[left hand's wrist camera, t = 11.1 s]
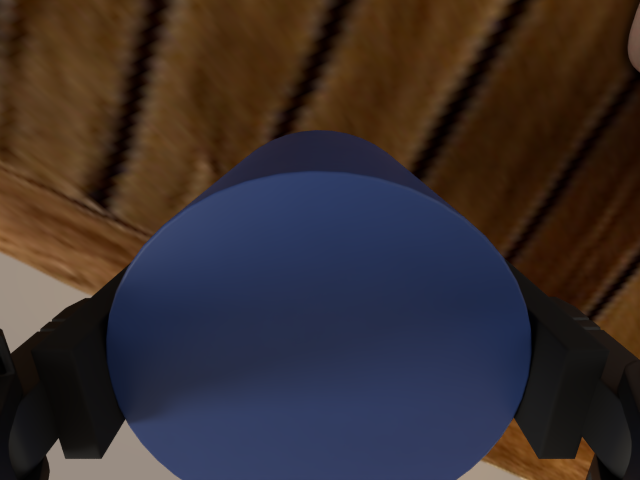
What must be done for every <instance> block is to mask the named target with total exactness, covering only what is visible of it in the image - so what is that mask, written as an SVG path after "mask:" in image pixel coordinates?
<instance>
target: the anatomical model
mask: <svg viewBox="0 0 640 480" xmlns="http://www.w3.org/2000/svg"><path fill="white" fill-rule="evenodd" d="M628 55H629V59H630V61H631V63H632V65H633V66H634V67H635V68H636V69H637V70H638V71H639V72H640V4H639V6H638V9H637V11H636V15H635V18H634V21H633V24H632V27H631V30H630V34H629V41H628Z"/></svg>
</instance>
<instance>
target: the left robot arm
mask: <svg viewBox="0 0 640 480" xmlns="http://www.w3.org/2000/svg"><path fill="white" fill-rule="evenodd" d="M504 260H505V261H506V263H507V265H508V266H509V268H510V270H511V272H512V273H513V275H514V277H515V278H516V280H517V282H518V285H519V288H520V290H521V293H522V295H523V298H524V301H525V303H526V307H527V312H528V317H529V322H530V327H531V344H532V356H531V364H530V372H529V377H528V381H527V384H526V388H525V391H524V395H523V398H522V400H521V402H520V405H519V407H518V409H517V411H516V413H515V416H514V419H515V420H516V422H517V424H518V425H519V427H520V428H521V430H522V432H523V433H524V435H525V437H526V438H527V440H528V442H529V443H530V445H531V447H532V448H533V450H534V452H535V453H536V455H537V457H538V458H539V459H575V457H576V454H577V451H578V448H579V444H580V441H581V438H582V437H583V438H584V440H585V441H586V442H587V443H588V445H589V446H590V447H591V449H592V450H593V451H594V452H595V454H594V457H593V460H592V463H591V466H590V469H589V471H588V474H587V477H586V480H640V360H639V359H638V358H637V357H635V356H634V355H633V354H632V353H631V352H629V351H628V350H627V349H626V348H624V347H623V346H622V345H621V344H620V343H618V342H617V341H616V340H615V339H614V338H612V337H611V336H610V335H609V334H607V333H606V332H605V331H604V330H600V327H599V326H598V325H597V324H595V323H594V322H593V321H592V320H589V318H588V317H587V316H586V315H584V314H583V313H582V312H581V311H580V310H578V309H577V308H576V307H575V306H573V305H571V304H569V303H567V302H565V301H563V300H561V299H559V298H557V297H548V296H547V295H546V294H545V293H543V292H542V291H541V290H540V289H539V288H538V287H537V286H535V285H534V284H533V283H532V282H531V281H530V280H529V279H527V278H526V277H525V276H524V275H523V274H522V273H521V272H519V271H518V270H517V269H516V268H515V267H514V266H513V265H511V264H510V263H509V262H508V261H507V260H506V259H505V258H504ZM130 264H131V263H130ZM130 264H129V265H130ZM129 265H128V266H127V267H125V268H124V269H123V270H122V271H121V272H120V273H119V274H117V275H116V276H115V277H114V278H113V279H112V280H111V281H109V282H108V283H107V284H106V285H105V286H104V287H103V288H101V289H100V290H99V291H98V292H97V293H96V294H95V295H93V296H92V297H91V298H85V299H83V300H81V301H79V302H77V303H75V304H73V305H71V306H69V307H67V308H65V309H64V310H63V311H62V312H60V313H59V314H58V315H57V316H56V317H54V318H53V319H52V322H48V323H47V324H46V325H45V326H44V327H42V328H41V329H40V332H36V333H35V334H34V335H33V336H32V337H30V338H29V339H28V340H27V341H26V342H24V343H23V344H22V345H21V346H19V347H18V348H17V349H16V350H15V351H13V352H12V353H11V354H10V351H9V348H8V345H7V342H6V339H5V336H4V333H3V331H2V329H0V480H48V479H49V473H50V470H49V463H48V460H47V457H46V454H47V452H48V451H49V450H50V448H51V447H52V446H53V445H54V443H55V442H56V441H57V439H58V438H59V440H60V443H61V446H62V450H63V453H64V456H65V458H66V459H101V458H102V457H103V455H104V454H105V452H106V450H107V449H108V447H109V445H110V444H111V442H112V440H113V439H114V437H115V436H116V434H117V432H118V431H119V429H120V427H121V425H122V424H123V422H124V421H125V417H124V415H123V413H122V411H121V410H120V408H119V406H118V403H117V400H116V397H115V394H114V391H113V387H112V383H111V379H110V375H109V370H108V366H107V357H106V335H107V327H108V320H109V313H110V310H111V307H112V303H113V300H114V297H115V294H116V290H117V288H118V286H119V284H120V282H121V280H122V278H123V276H124V274H125V272H126V270H127V268H128V267H129Z"/></svg>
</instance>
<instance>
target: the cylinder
mask: <svg viewBox="0 0 640 480" xmlns="http://www.w3.org/2000/svg"><path fill="white" fill-rule="evenodd" d="M531 356H532V344H531V327H530V322H529V317H528V312H527V307H526V303H525V301H524V298H523V295H522V293H521V290H520V288H519V285H518V282H517V280H516V278H515V277H514V275H513V273H512V272H511V270H510V268H509V266H508V265H507V263H506V261H505V260H504V258H503V257H502V256H501V254H500V253H499V252H498V251H497V249H496V248H495V247H494V246H493V245H492V243H491V242H490V241H489V240H488V238H487V237H486V236H485V235H484V234H482V233H481V232H480V231H479V230H478V229H477V228H476V227H475V226H474V225H472V224H471V223H470V222H469V221H468V220H467V219H466V218H465V217H463V216H462V215H461V214H460V213H459V212H457V211H456V210H455V209H454V208H453V207H451V206H450V205H449V204H448V203H447V202H445V201H444V200H443V199H442V198H441V197H439V196H438V195H437V194H436V193H435V192H433V191H432V190H431V189H430V188H429V187H427V186H426V185H425V184H424V183H423V182H421V181H420V180H419V179H418V178H417V177H415V176H414V175H413V174H412V173H411V172H409V171H408V170H407V169H406V168H405V167H403V166H402V165H401V164H400V163H399V162H397V161H396V160H395V159H394V158H393V157H391V156H390V155H389V154H388V153H386V152H385V151H383V150H382V149H380V148H379V147H377V146H376V145H374V144H372V143H370V142H368V141H366V140H364V139H362V138H359V137H356V136H353V135H350V134H346V133H341V132H335V131H321V130H314V131H304V132H298V133H294V134H289V135H285V136H283V137H280V138H278V139H275V140H273V141H270V142H269V143H267V144H265V145H263V146H261V147H260V148H258V149H257V150H255V151H254V152H253V153H251V154H250V155H249V156H247V157H246V158H245V159H244V160H242V161H241V162H240V163H239V164H238V165H236V166H235V167H234V168H233V169H231V170H230V171H229V172H228V173H227V174H225V175H224V176H223V177H222V178H220V179H219V180H218V181H217V182H216V183H214V184H213V185H212V186H211V187H209V188H208V189H207V190H206V191H205V192H203V193H202V194H201V195H200V196H198V197H197V198H196V199H195V200H194V201H192V202H191V203H190V204H189V205H187V206H186V207H185V208H184V209H183V210H181V211H180V212H179V213H178V214H176V215H175V216H174V217H173V218H172V219H170V220H169V221H168V222H167V223H165V224H164V225H163V226H162V227H161V228H160V229H159V230H158V231H157V232H156V233H155V234H154V235H153V236H152V237H151V238H150V239H149V240H148V241H147V242H146V243H145V244H144V246H143V247H142V248H141V250H140V251H139V253H138V254H137V255H136V257H135V258H134V260H133V261H132V262H131V264H130V265H129V267H128V268H127V270H126V272H125V274H124V276H123V278H122V280H121V282H120V284H119V286H118V288H117V290H116V294H115V297H114V300H113V303H112V307H111V310H110V313H109V320H108V327H107V335H106V357H107V366H108V370H109V375H110V379H111V383H112V387H113V391H114V394H115V397H116V400H117V403H118V406H119V408H120V410H121V411H122V413H123V415H124V417H125V419H126V421H127V423H128V425H129V426H130V428H131V429H132V430H133V432H134V433H135V434H136V436H137V437H138V439H139V440H140V442H141V443H142V444H143V445H144V446H145V447H146V448H147V450H148V451H149V452H150V453H151V454H152V455H153V456H154V457H155V458H156V459H157V460H158V461H159V462H160V463H161V464H162V465H164V466H165V467H166V468H167V469H168V470H170V471H171V472H172V473H173V474H174V475H176V476H177V477H179V478H180V479H182V480H457V479H458V478H459V477H461V476H462V475H463V474H465V473H466V472H468V471H469V470H470V469H471V468H472V467H474V466H475V465H476V464H477V463H478V462H479V461H480V460H481V459H482V458H483V457H484V456H485V455H486V454H487V453H488V452H489V451H490V450H491V449H492V447H493V446H494V445H495V444H496V443H497V441H498V440H499V439H500V438H501V437H502V435H503V433H504V432H505V430H506V429H507V427H508V426H509V424H510V422H511V421H512V419H513V418H514V416H515V413H516V411H517V409H518V407H519V405H520V402H521V400H522V398H523V395H524V391H525V388H526V384H527V381H528V377H529V372H530V364H531Z"/></svg>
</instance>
